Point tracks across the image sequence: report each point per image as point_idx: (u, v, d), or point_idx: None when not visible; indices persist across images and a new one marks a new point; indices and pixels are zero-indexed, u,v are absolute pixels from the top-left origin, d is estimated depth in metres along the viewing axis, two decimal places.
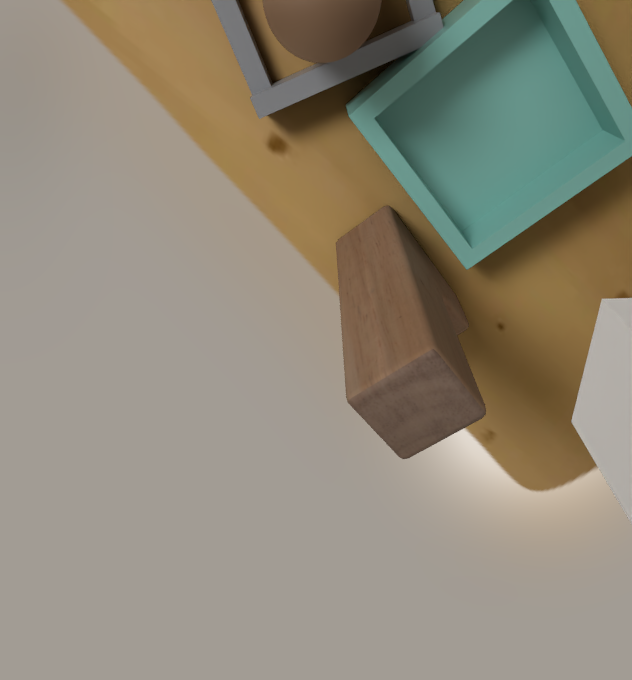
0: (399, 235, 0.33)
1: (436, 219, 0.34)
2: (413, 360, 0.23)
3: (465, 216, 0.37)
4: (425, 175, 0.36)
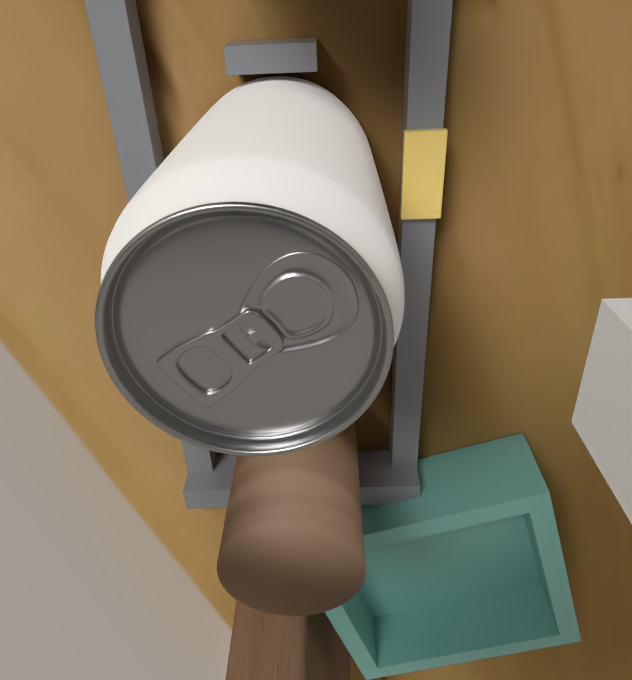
0: (305, 670, 0.29)
1: (350, 642, 0.30)
2: None
3: (382, 608, 0.34)
4: None
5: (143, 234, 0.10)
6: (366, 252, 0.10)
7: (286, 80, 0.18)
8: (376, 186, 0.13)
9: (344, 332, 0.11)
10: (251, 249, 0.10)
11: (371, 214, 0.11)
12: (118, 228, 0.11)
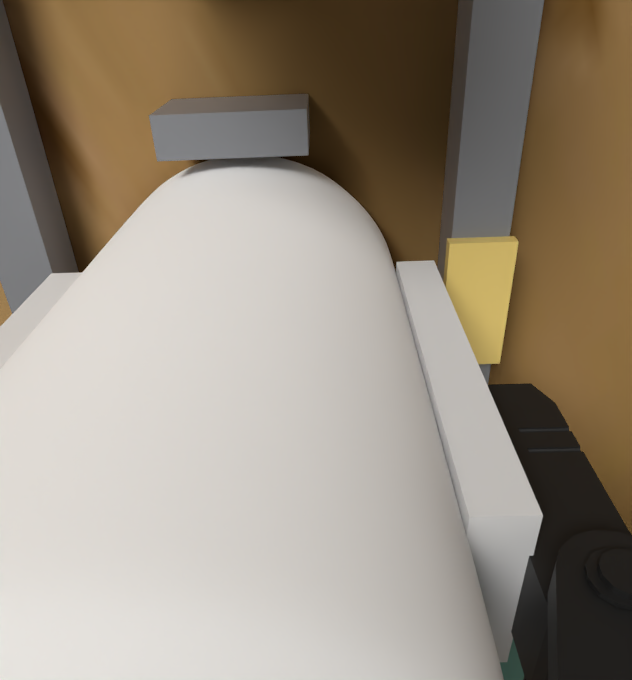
0: None
1: None
2: None
3: None
4: None
5: None
6: None
7: (258, 168, 0.11)
8: (431, 444, 0.06)
9: None
10: None
11: None
12: None
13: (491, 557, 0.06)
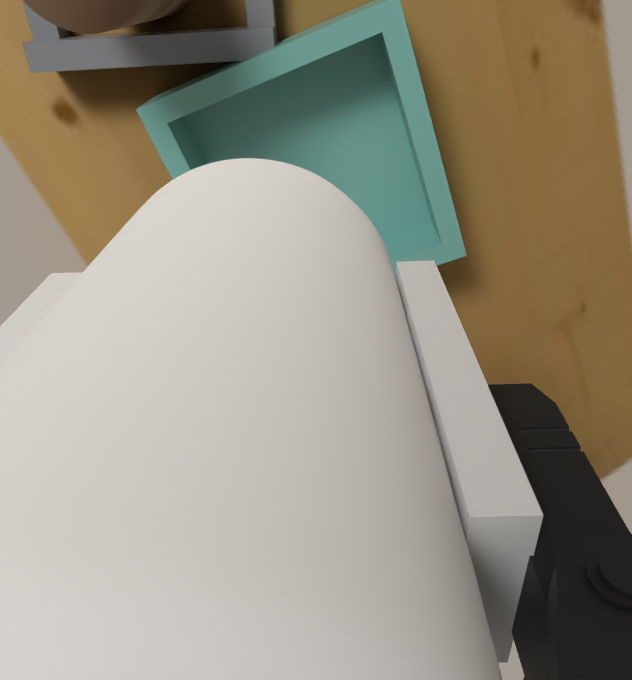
0: None
1: None
2: None
3: None
4: None
5: None
6: None
7: (257, 171, 0.11)
8: (429, 445, 0.06)
9: None
10: None
11: None
12: None
13: (492, 557, 0.06)
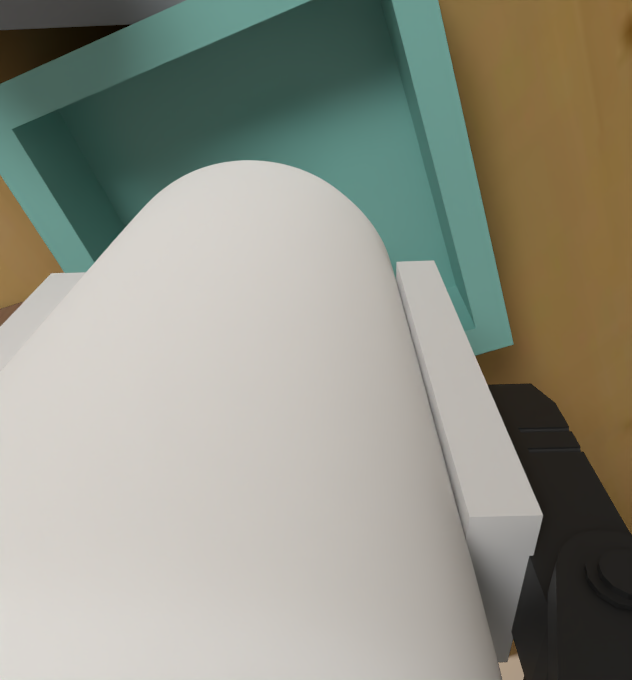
0: None
1: None
2: None
3: None
4: None
5: None
6: None
7: (258, 173, 0.11)
8: (430, 448, 0.06)
9: None
10: None
11: None
12: None
13: (491, 557, 0.06)
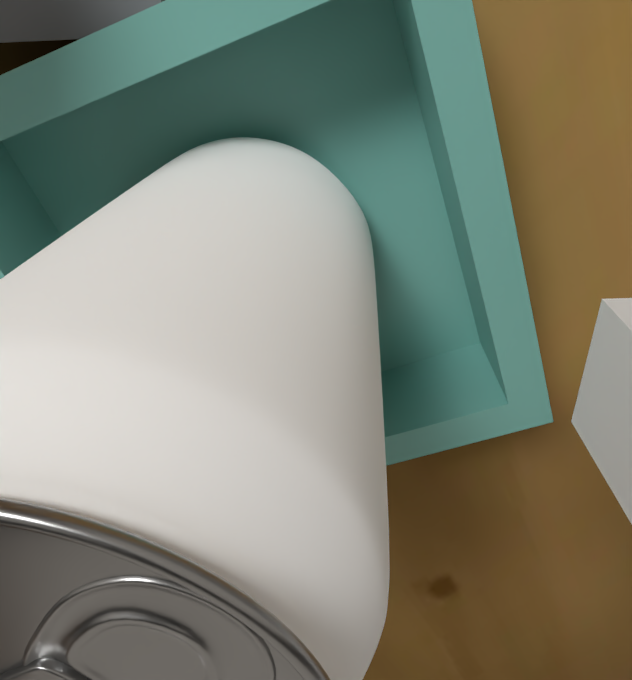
0: None
1: None
2: None
3: None
4: None
5: None
6: (294, 568, 0.05)
7: (252, 145, 0.13)
8: (355, 343, 0.08)
9: None
10: (25, 565, 0.04)
11: (320, 461, 0.05)
12: None
13: None
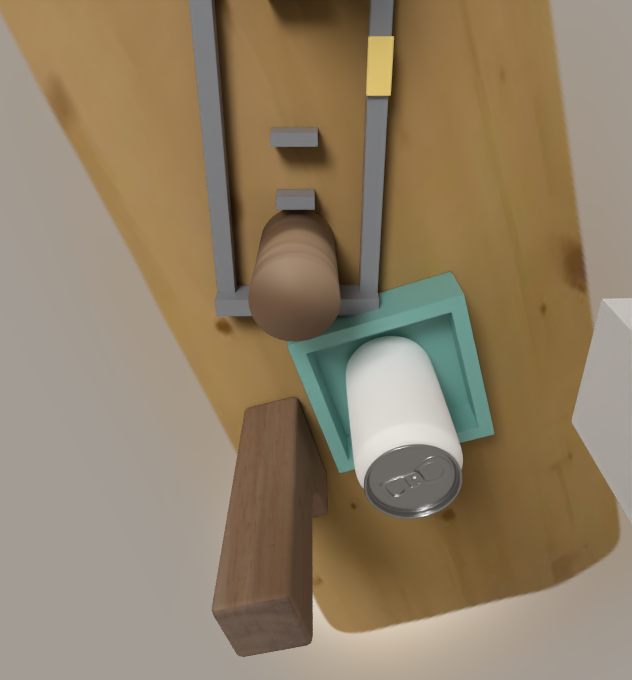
0: (296, 442, 0.40)
1: (328, 433, 0.42)
2: (271, 600, 0.29)
3: None
4: (332, 389, 0.44)
5: (391, 451, 0.31)
6: (454, 455, 0.32)
7: (400, 343, 0.40)
8: (449, 415, 0.35)
9: (444, 479, 0.33)
10: (420, 455, 0.32)
11: (455, 440, 0.33)
12: (372, 441, 0.32)
13: None
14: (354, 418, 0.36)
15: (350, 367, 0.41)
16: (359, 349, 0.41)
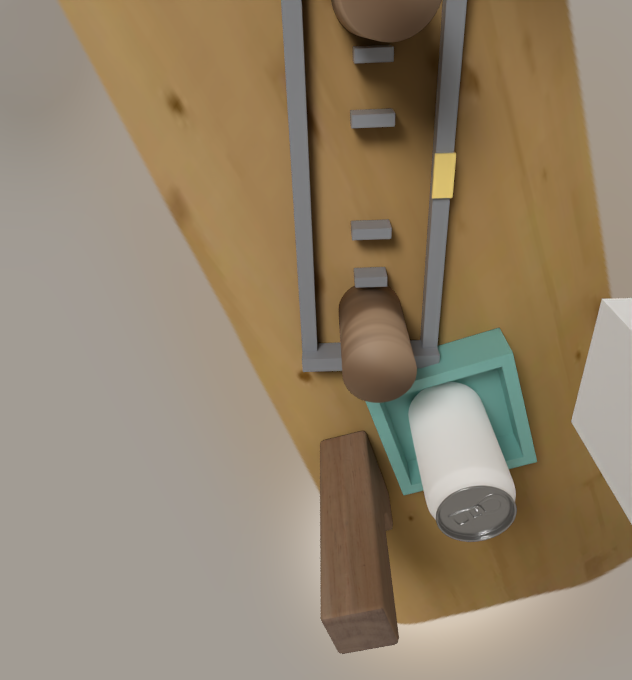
0: (370, 474, 0.48)
1: (395, 463, 0.49)
2: (368, 611, 0.37)
3: (412, 454, 0.53)
4: (396, 425, 0.51)
5: (459, 491, 0.39)
6: (510, 492, 0.40)
7: (457, 389, 0.47)
8: (502, 455, 0.43)
9: (501, 511, 0.40)
10: (482, 493, 0.39)
11: (510, 479, 0.40)
12: (442, 482, 0.40)
13: None
14: (423, 458, 0.43)
15: (413, 409, 0.48)
16: (421, 393, 0.48)
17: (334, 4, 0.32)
